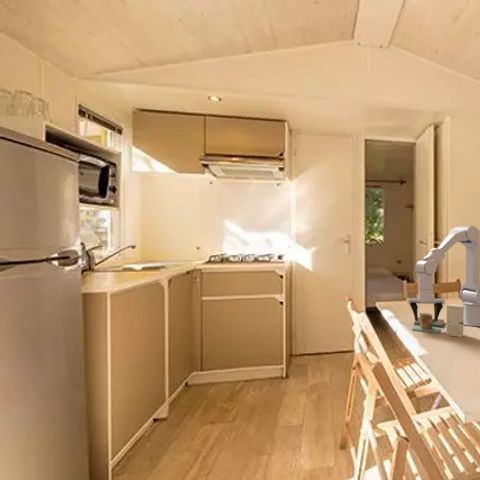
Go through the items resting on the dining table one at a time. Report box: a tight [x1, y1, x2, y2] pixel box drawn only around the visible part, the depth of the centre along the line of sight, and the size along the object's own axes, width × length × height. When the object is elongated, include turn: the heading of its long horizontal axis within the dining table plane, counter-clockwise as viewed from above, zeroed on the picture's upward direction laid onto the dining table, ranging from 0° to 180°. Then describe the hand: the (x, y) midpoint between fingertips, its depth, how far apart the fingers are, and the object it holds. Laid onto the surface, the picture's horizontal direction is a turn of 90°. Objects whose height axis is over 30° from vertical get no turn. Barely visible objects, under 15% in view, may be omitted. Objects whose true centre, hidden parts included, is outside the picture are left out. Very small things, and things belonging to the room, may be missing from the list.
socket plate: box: [413, 317, 445, 329], centre depth 173 cm, size 11×11×1 cm
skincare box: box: [445, 303, 464, 338], centre depth 154 cm, size 6×4×12 cm
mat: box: [411, 324, 441, 334], centre depth 163 cm, size 10×7×1 cm
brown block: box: [419, 312, 433, 330], centre depth 163 cm, size 4×4×6 cm
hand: (426, 320), depth 163 cm, fingers open, 7 cm apart
